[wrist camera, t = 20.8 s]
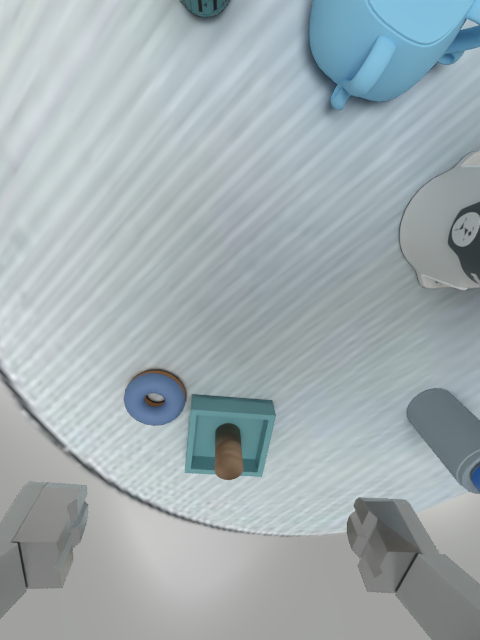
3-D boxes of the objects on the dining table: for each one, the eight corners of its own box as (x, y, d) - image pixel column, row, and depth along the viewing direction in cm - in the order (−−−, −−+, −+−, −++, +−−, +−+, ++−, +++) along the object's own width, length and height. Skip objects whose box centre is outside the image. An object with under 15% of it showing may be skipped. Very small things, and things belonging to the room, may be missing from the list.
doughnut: (118, 371, 52) (112, 390, 48) (179, 361, 53) (178, 378, 49) (136, 415, 57) (131, 435, 53) (191, 405, 57) (191, 424, 53)
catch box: (272, 400, 56) (275, 415, 53) (259, 459, 62) (261, 476, 58) (192, 394, 55) (190, 409, 51) (186, 455, 60) (184, 472, 57)
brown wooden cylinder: (233, 419, 56) (235, 454, 49) (244, 436, 58) (248, 473, 51) (210, 429, 57) (209, 465, 50) (222, 445, 59) (222, 483, 51)
